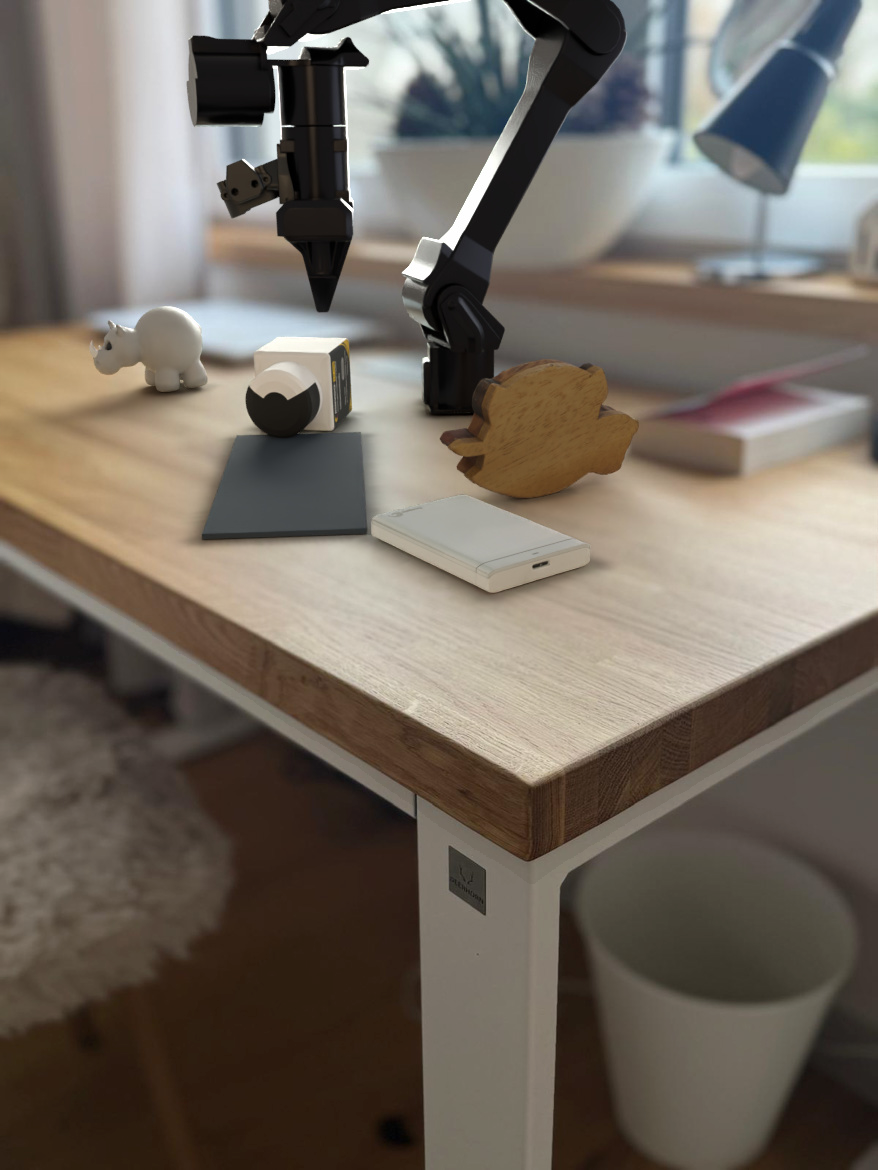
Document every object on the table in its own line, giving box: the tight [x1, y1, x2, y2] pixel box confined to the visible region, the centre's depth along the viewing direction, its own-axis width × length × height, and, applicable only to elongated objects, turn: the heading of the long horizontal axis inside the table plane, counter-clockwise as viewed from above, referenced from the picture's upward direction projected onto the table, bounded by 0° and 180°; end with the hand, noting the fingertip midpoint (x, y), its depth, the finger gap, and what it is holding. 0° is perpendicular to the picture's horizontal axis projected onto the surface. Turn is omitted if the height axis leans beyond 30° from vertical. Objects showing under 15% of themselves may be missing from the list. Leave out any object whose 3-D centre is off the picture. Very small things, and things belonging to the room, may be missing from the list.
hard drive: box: [370, 493, 591, 594], centre depth 69 cm, size 2×8×12 cm
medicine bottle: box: [244, 336, 353, 438], centre depth 98 cm, size 7×7×12 cm
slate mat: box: [201, 431, 368, 540], centre depth 84 cm, size 11×26×1 cm, turn 5°
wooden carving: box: [439, 358, 640, 499], centre depth 79 cm, size 16×5×10 cm, turn 123°
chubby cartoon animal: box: [88, 305, 208, 393], centre depth 114 cm, size 7×12×8 cm, turn 121°
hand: (322, 311), depth 99 cm, fingers closed
